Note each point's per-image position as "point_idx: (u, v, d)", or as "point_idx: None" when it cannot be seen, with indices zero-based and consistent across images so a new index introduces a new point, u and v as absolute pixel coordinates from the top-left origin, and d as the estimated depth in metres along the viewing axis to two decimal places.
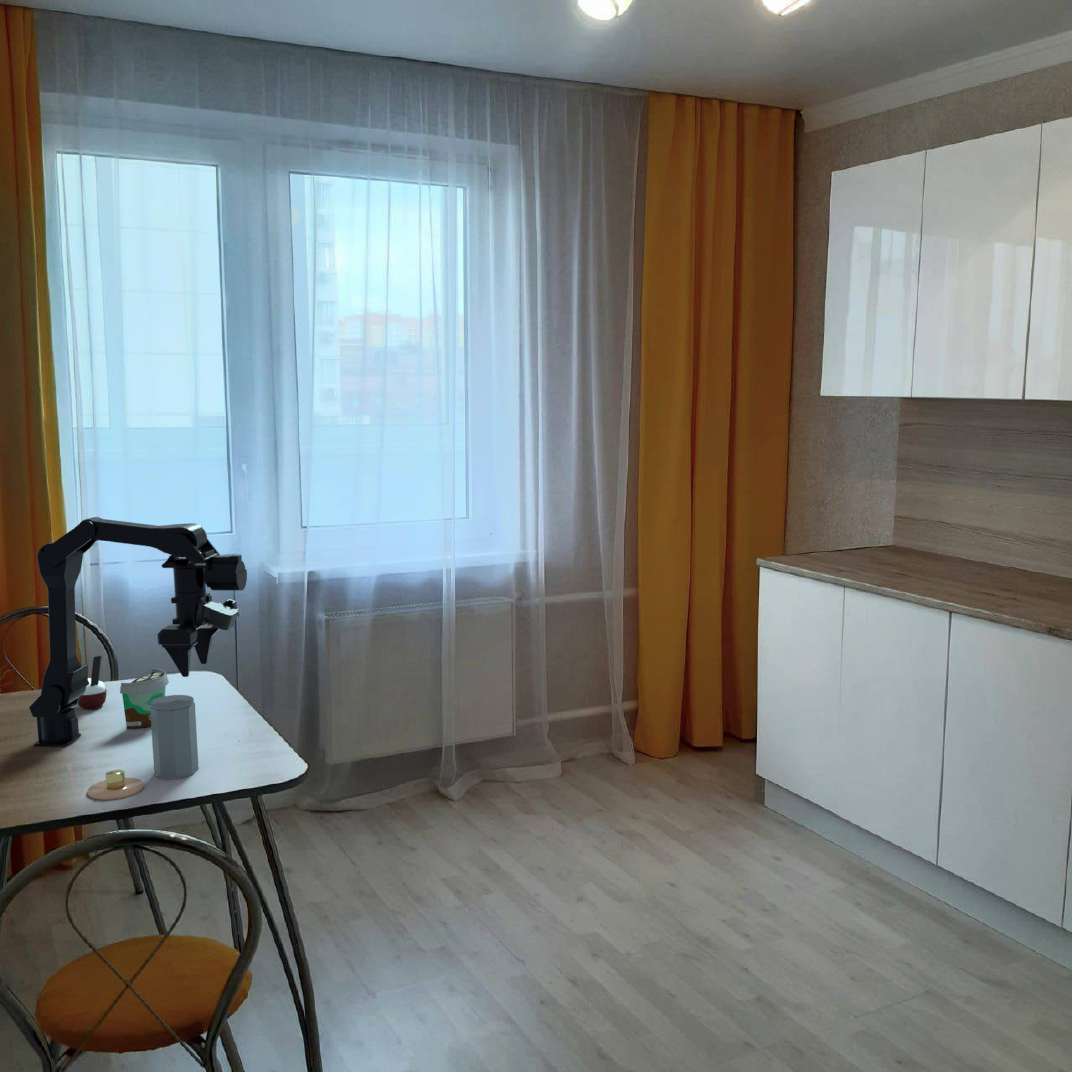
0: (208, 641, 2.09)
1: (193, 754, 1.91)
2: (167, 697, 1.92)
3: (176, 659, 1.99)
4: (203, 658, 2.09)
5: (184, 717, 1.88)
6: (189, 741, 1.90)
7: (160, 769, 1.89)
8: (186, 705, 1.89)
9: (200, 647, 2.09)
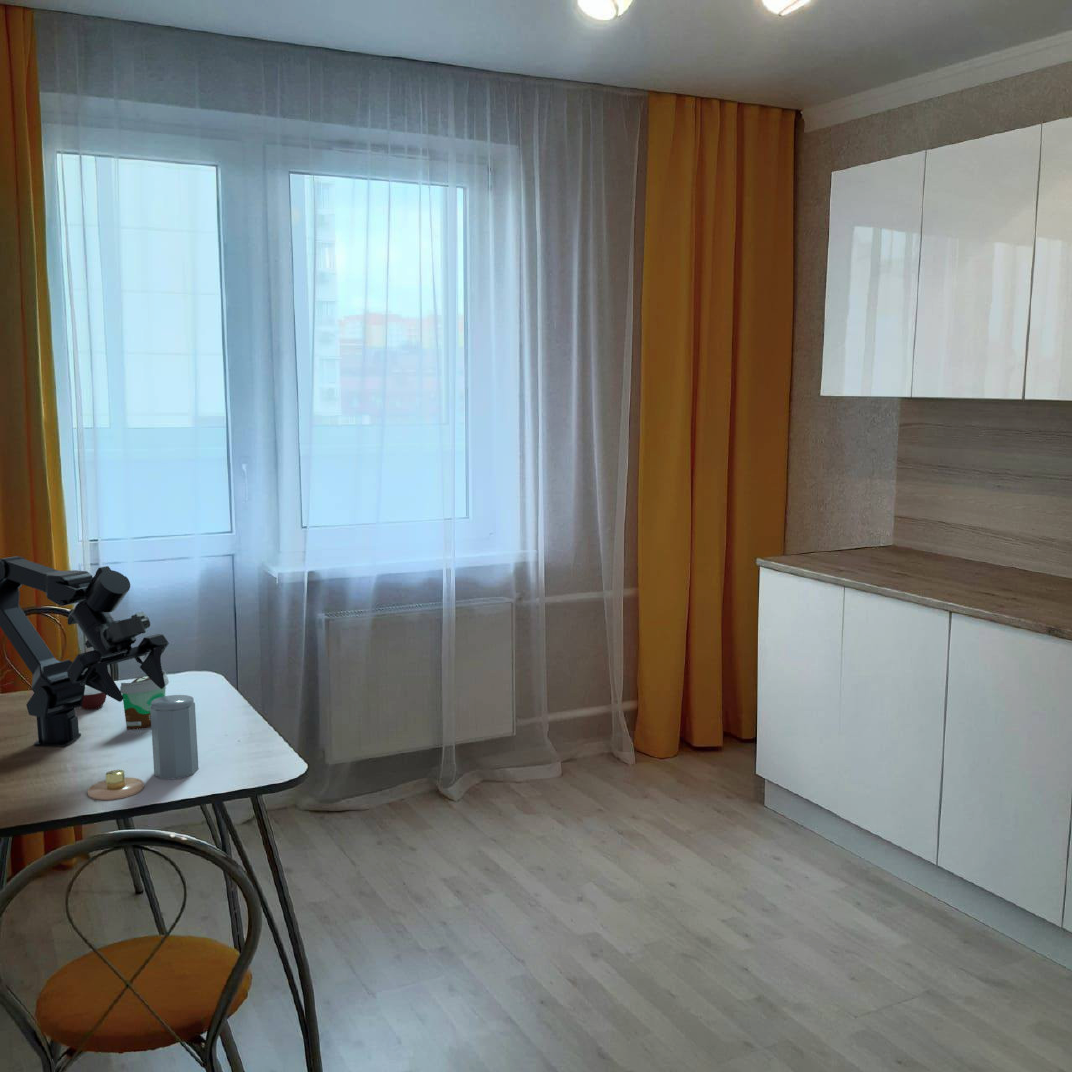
0: (154, 665, 1.99)
1: (193, 754, 1.91)
2: (167, 697, 1.92)
3: (103, 689, 1.91)
4: (159, 683, 1.98)
5: (184, 717, 1.88)
6: (189, 741, 1.90)
7: (160, 769, 1.89)
8: (186, 705, 1.89)
9: (153, 675, 1.99)
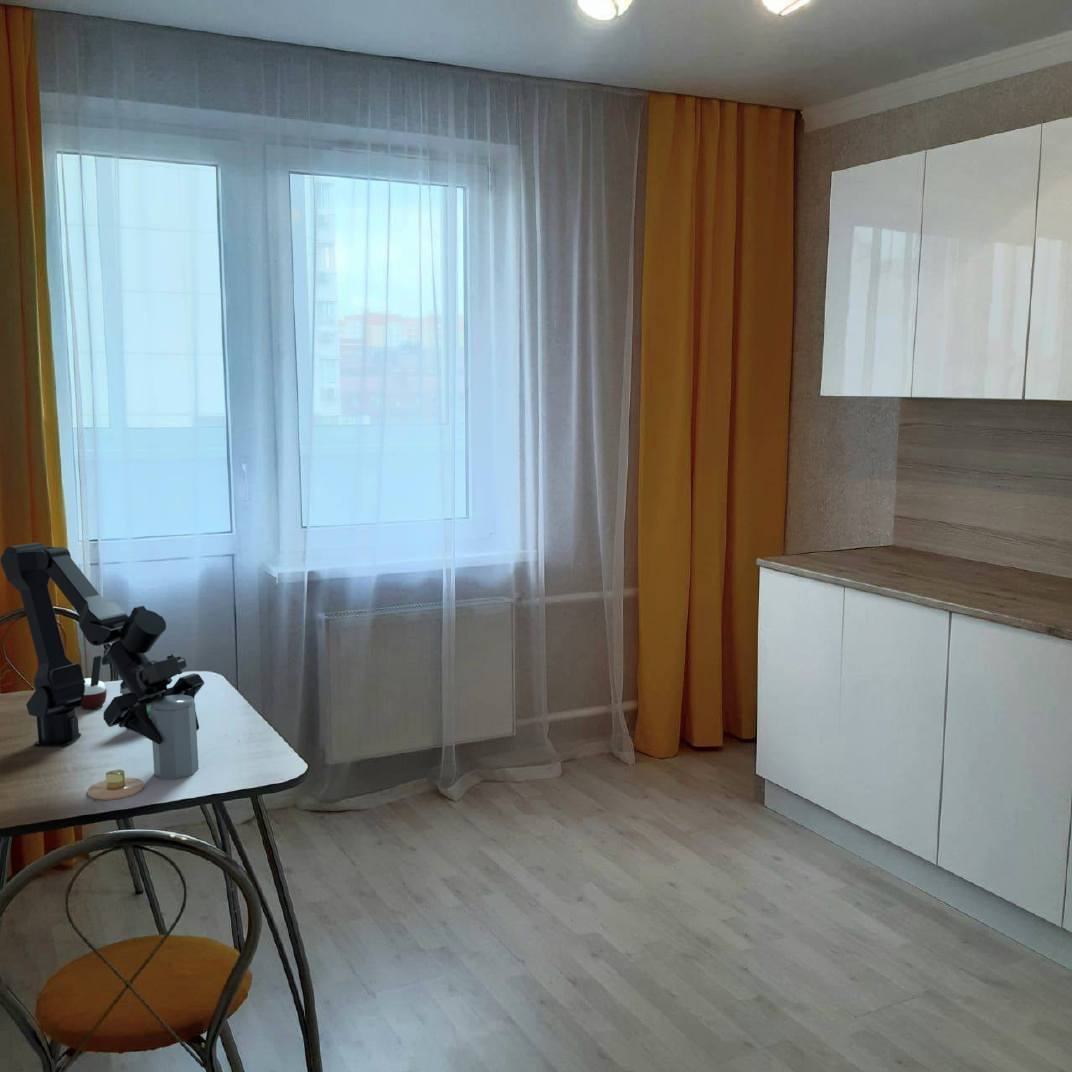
0: None
1: (193, 754, 1.91)
2: (167, 697, 1.92)
3: (142, 731, 1.87)
4: None
5: (184, 717, 1.88)
6: (189, 741, 1.90)
7: (160, 769, 1.89)
8: (186, 705, 1.89)
9: None
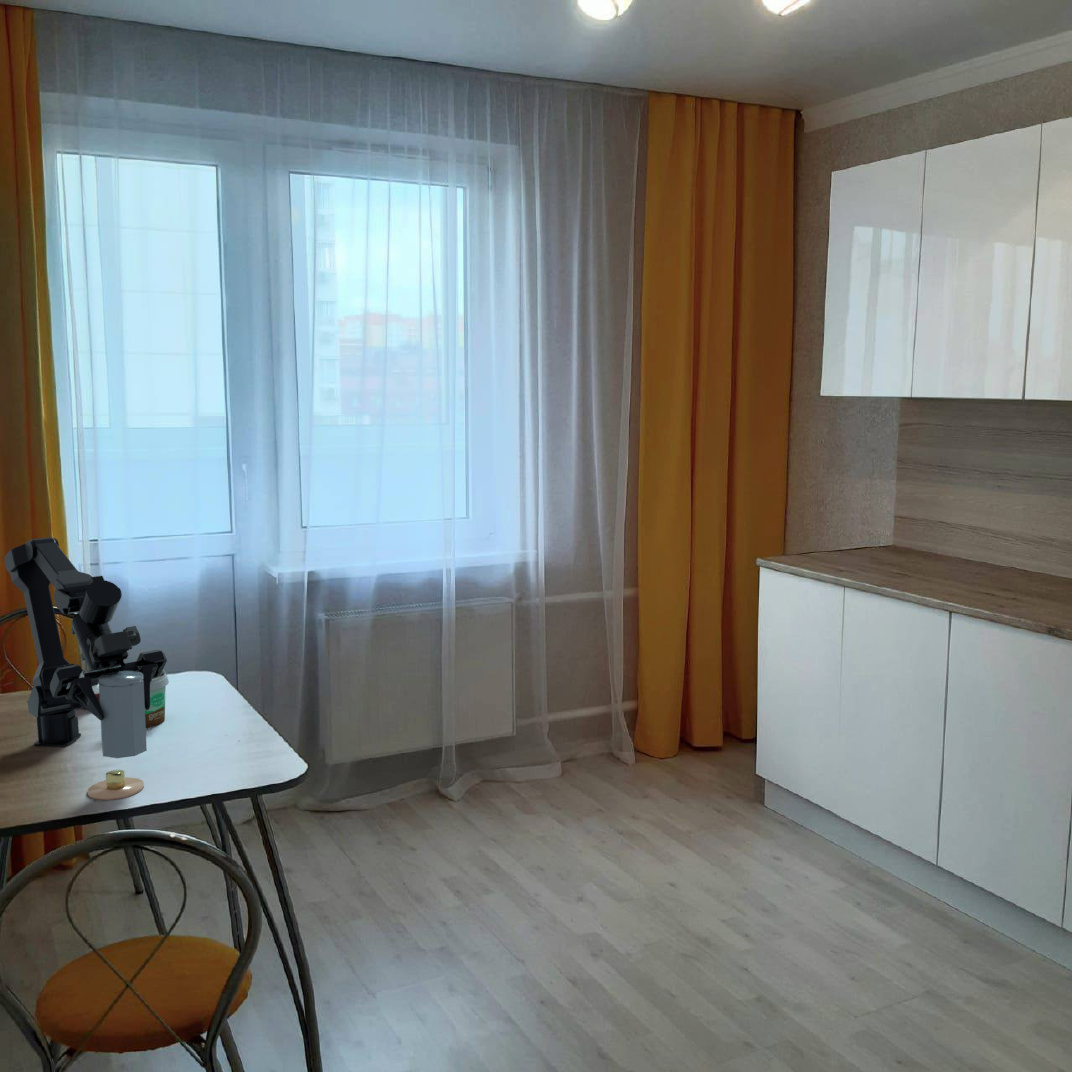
0: None
1: (138, 734, 1.82)
2: (120, 672, 1.85)
3: (86, 705, 1.81)
4: (145, 703, 1.85)
5: (126, 695, 1.80)
6: (132, 720, 1.81)
7: (103, 746, 1.81)
8: (129, 682, 1.80)
9: None
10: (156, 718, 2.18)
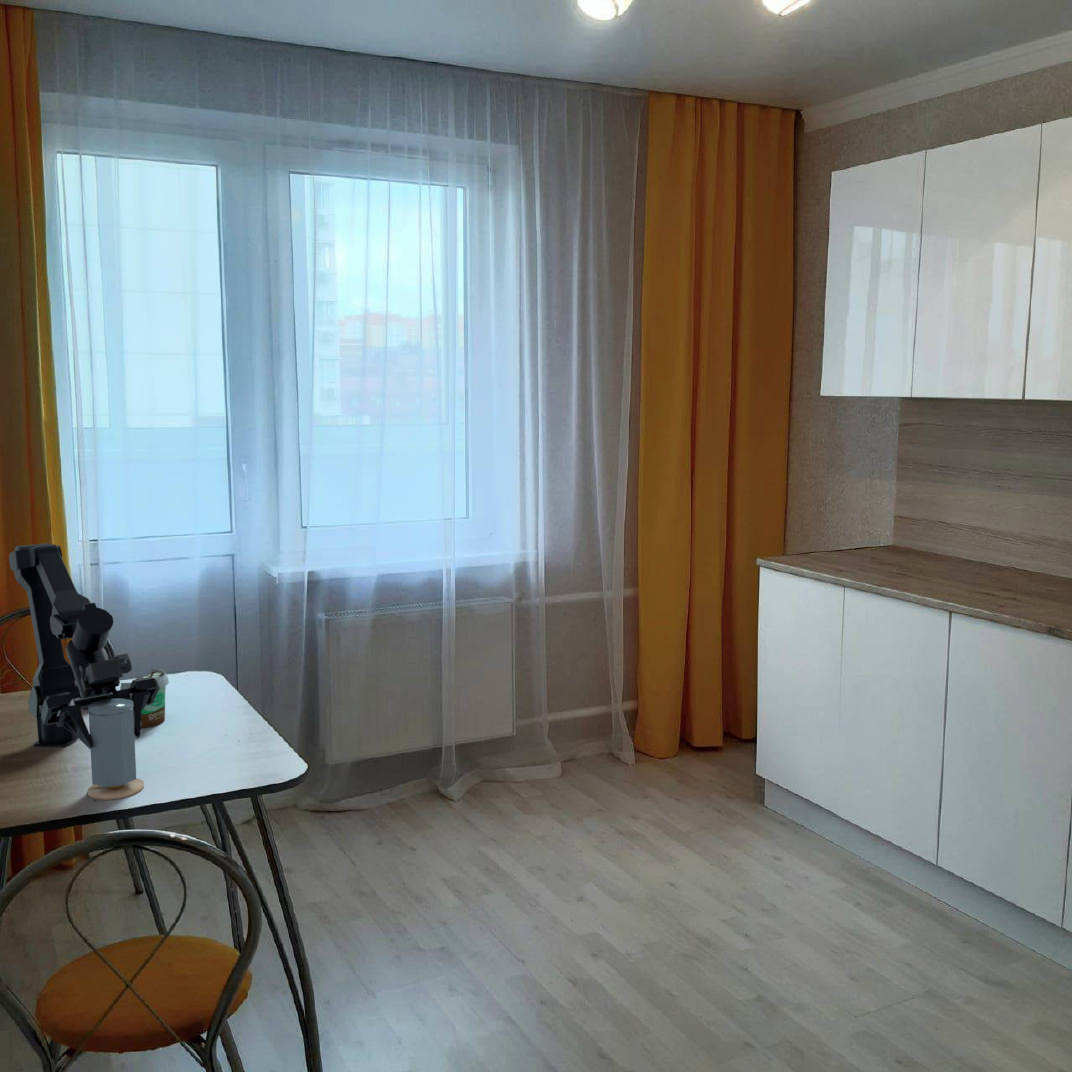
0: (133, 711, 1.85)
1: (127, 763, 1.81)
2: (111, 700, 1.84)
3: (76, 733, 1.80)
4: (135, 731, 1.84)
5: (115, 724, 1.79)
6: (120, 749, 1.80)
7: (92, 774, 1.81)
8: (118, 711, 1.79)
9: None
10: (156, 718, 2.18)
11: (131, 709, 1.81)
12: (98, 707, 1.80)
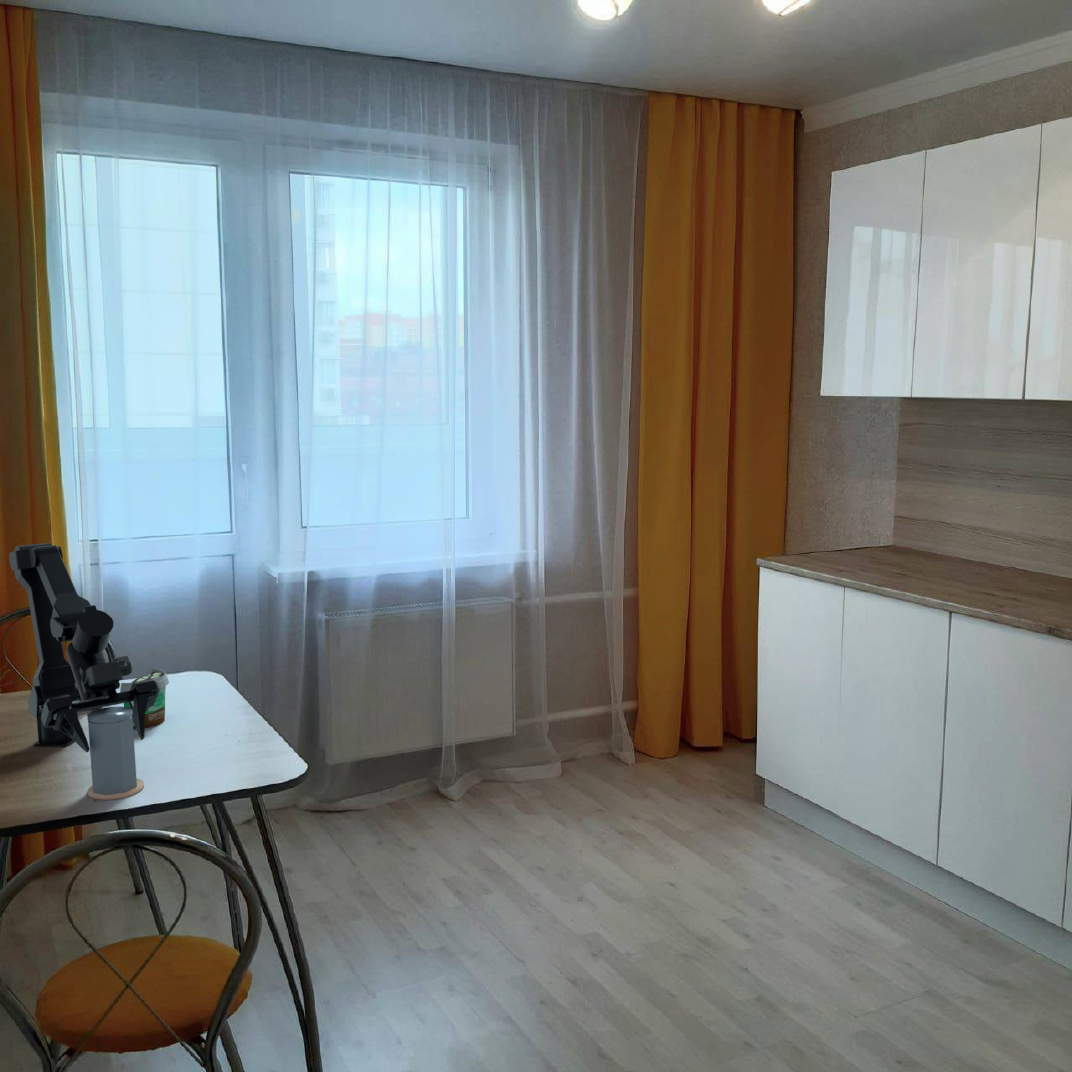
0: (137, 713, 1.86)
1: (127, 771, 1.81)
2: (110, 708, 1.84)
3: (73, 736, 1.80)
4: (139, 733, 1.85)
5: (114, 732, 1.79)
6: (120, 757, 1.80)
7: (92, 783, 1.81)
8: (117, 719, 1.79)
9: (136, 724, 1.86)
10: (156, 718, 2.18)
11: (130, 717, 1.82)
12: (97, 716, 1.80)
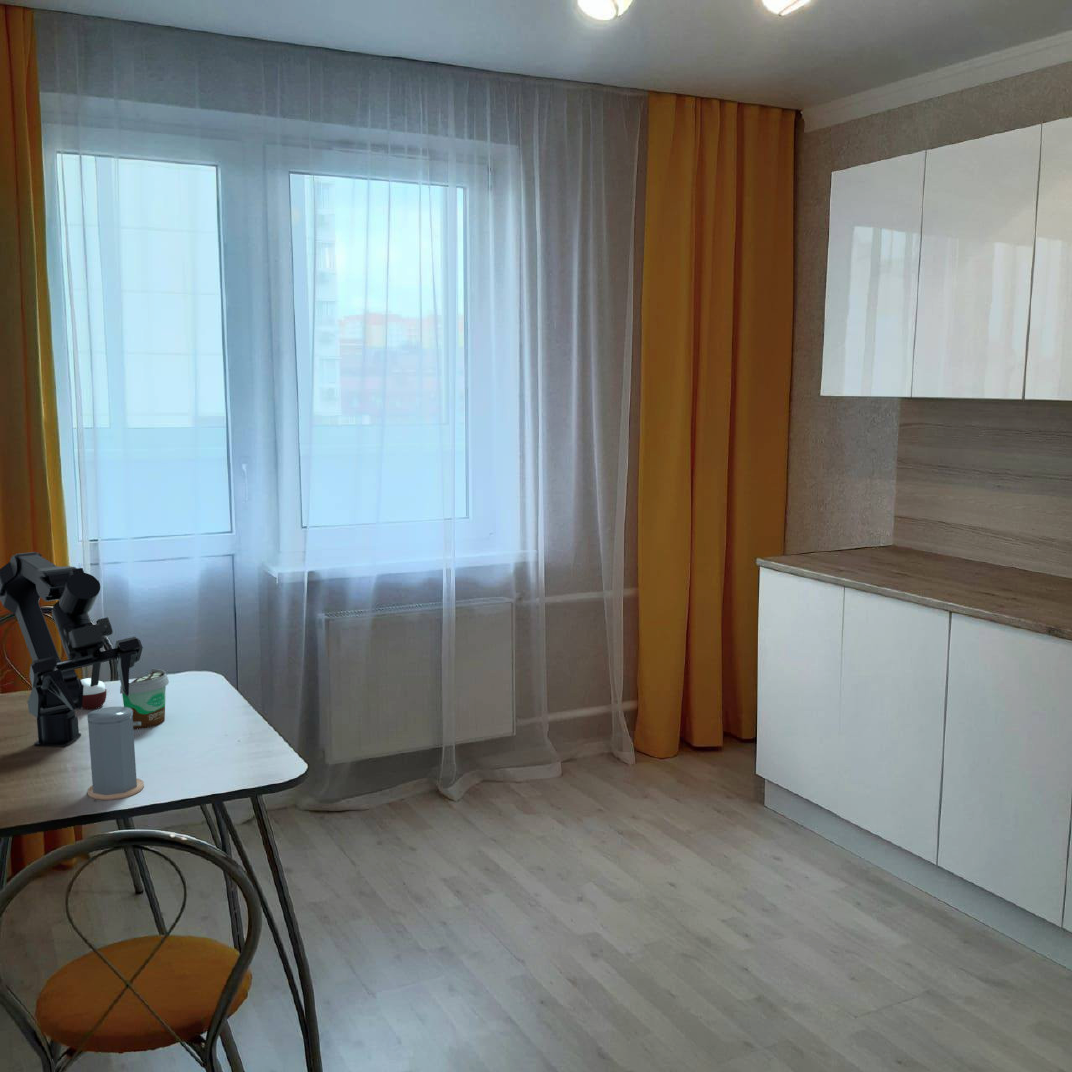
0: (121, 671, 1.93)
1: (127, 771, 1.81)
2: (110, 708, 1.84)
3: (60, 696, 1.88)
4: (124, 690, 1.92)
5: (114, 732, 1.79)
6: (120, 757, 1.80)
7: (92, 783, 1.81)
8: (117, 719, 1.79)
9: (121, 681, 1.94)
10: (156, 718, 2.18)
11: (130, 717, 1.82)
12: (97, 716, 1.80)
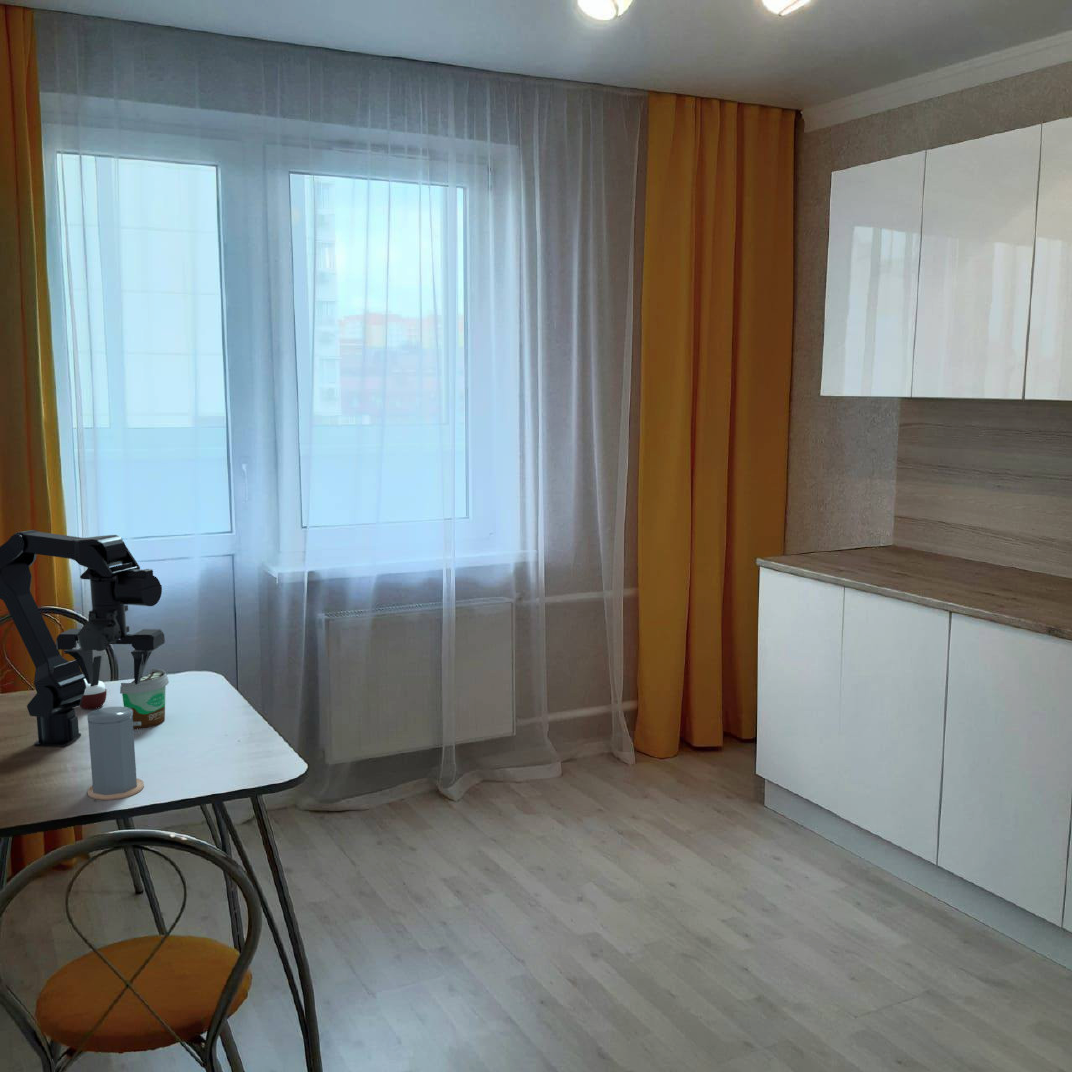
0: None
1: (127, 771, 1.81)
2: (110, 708, 1.84)
3: None
4: None
5: (114, 732, 1.79)
6: (120, 757, 1.80)
7: (92, 783, 1.81)
8: (117, 719, 1.79)
9: None
10: (156, 718, 2.18)
11: (130, 717, 1.82)
12: (97, 716, 1.80)
